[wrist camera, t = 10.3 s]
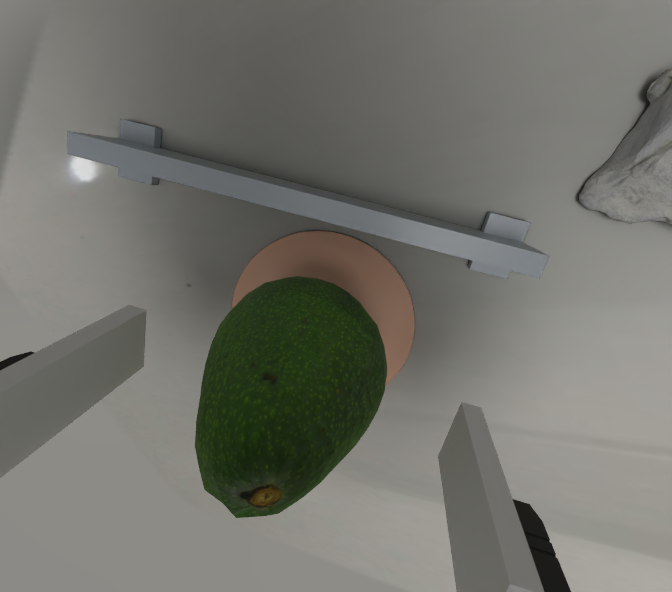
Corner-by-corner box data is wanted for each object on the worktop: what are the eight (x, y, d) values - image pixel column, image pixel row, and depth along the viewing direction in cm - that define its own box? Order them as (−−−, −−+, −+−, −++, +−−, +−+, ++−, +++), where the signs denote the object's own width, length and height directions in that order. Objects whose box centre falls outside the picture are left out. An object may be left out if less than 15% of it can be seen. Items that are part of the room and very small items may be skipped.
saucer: (248, 208, 21) (246, 209, 20) (440, 259, 20) (441, 260, 20) (223, 373, 24) (221, 376, 24) (384, 421, 24) (384, 425, 23)
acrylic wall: (127, 120, 20) (67, 107, 16) (526, 221, 19) (559, 232, 15) (125, 176, 21) (68, 176, 17) (504, 276, 20) (530, 299, 16)
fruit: (273, 387, 24) (163, 580, 12) (241, 269, 21) (72, 371, 10) (396, 376, 22) (399, 584, 11) (375, 247, 20) (351, 339, 9)
